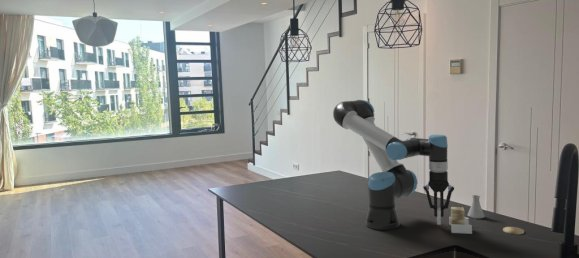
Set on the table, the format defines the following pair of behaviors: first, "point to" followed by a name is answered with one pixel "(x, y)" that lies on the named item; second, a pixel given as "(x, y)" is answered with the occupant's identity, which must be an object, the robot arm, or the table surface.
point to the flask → (476, 208)
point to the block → (457, 215)
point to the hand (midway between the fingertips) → (438, 223)
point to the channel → (461, 227)
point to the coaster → (513, 230)
